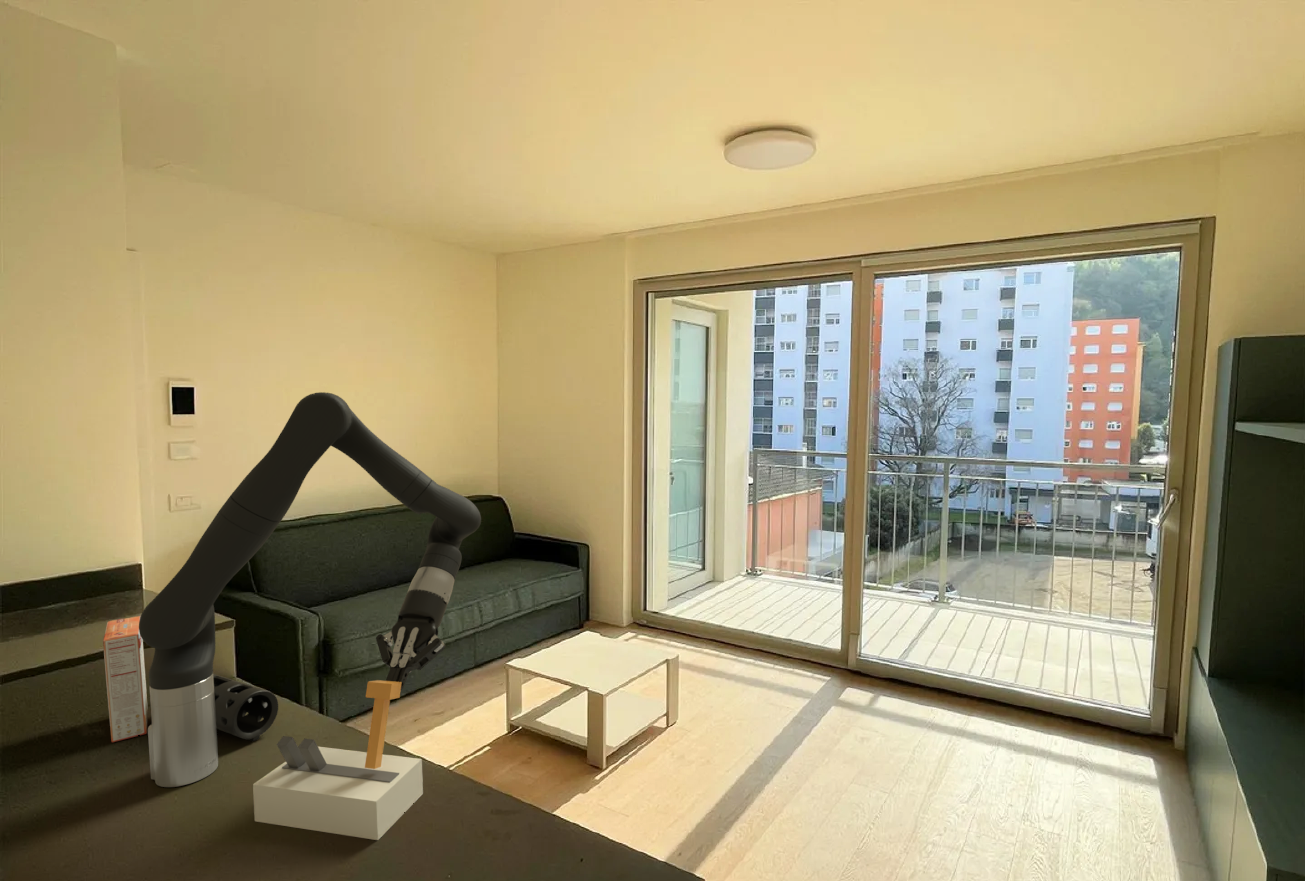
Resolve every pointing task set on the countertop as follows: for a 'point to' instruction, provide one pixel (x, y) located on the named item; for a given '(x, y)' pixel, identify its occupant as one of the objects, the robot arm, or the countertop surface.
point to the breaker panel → (336, 790)
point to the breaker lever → (379, 718)
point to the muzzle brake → (243, 708)
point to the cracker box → (125, 678)
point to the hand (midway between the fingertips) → (391, 692)
